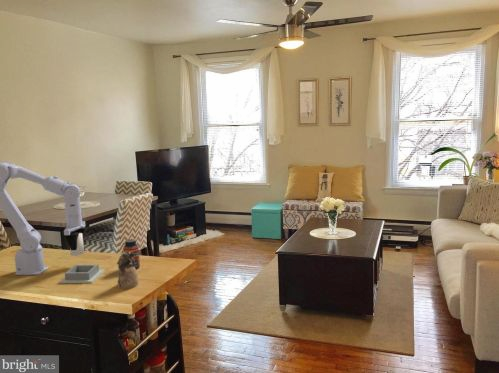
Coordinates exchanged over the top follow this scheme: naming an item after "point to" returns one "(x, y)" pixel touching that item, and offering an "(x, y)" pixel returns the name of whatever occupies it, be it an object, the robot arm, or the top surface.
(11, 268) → the top surface
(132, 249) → the supplement bottle
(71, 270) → the cup holder
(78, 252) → the cream white egg
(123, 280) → the figurine
